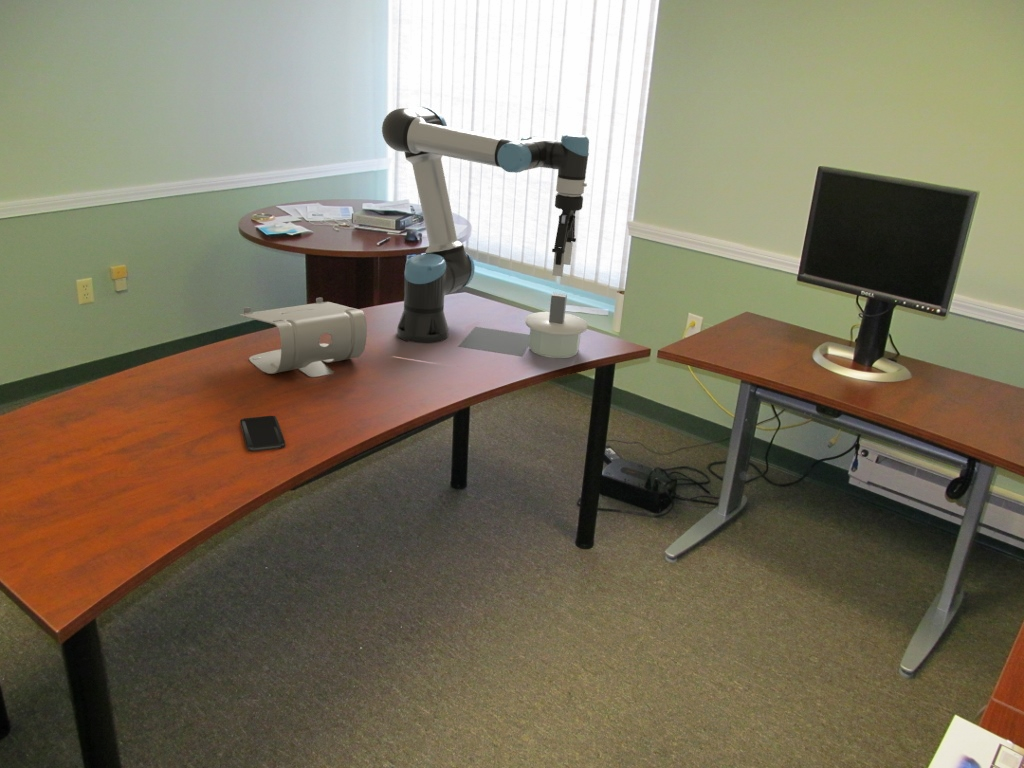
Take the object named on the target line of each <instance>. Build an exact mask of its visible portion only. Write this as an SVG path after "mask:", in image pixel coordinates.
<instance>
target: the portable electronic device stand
mask: <svg viewBox="0 0 1024 768" xmlns="http://www.w3.org/2000/svg"><path fill="white" fill-rule="evenodd" d="M251 309H252V308H251V307H243V309H242V310H243V311H242V312H243V313H239V316H241V317H244V318H248V319H251V320H256V321H259V322H262V323H263V322H264V323H266V324H267V323H268V324H271V325H274V326H276V327H277V329H278V332H279V338H280V349H274V350H270V351H266V352H260V353H257V354H253V355H251V356H250V357H249V358H248V360H249V361H250V363H251V364H252V365H253V366H255V367H256V368H257V369H258V370H260V371H261V372H263V373H265V374H269V375H273V374H277V373H283V372H287V371H293V370H298V371H299V372H301V373H302V374H304V375H306V376H307V377H308V378H311V379H312V378H313V379H314V378H321V377H325V376H330V375H334V373H335V371H334V370H333V369H332V368H330V367H329V366H328V365H326V364H325V363H327V364H328V363H329V364H330V363H335V362H341V361H344V360H350V359H355V358H360V357H361V356H362V355H363V353H364V351H365V349H366V345H367V336H368V335H367V334H368V333H367V332H368V331H367V327H368V326H367V319H366V315H365V313H364V311H363V310H361V309H358V308H354V307H349V306H347V305H343V304H339V303H334V302H331V301H324V299H323V296H322V297H316V298H315V302H314V303H307V304H299V305H294V306H287V307H280V308H271V309H266V310H259V311H252V310H251ZM326 334H327V335H330V338H331V341H330V343H324V342H323V343H320V339H321V336H323V335H326Z"/></svg>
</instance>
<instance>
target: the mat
mask: <svg viewBox="0 0 1024 768" xmlns="http://www.w3.org/2000/svg"><path fill="white" fill-rule="evenodd" d="M529 338H530V334H526V333H519V332H513V331H506V330H501V329H496V328H495V329H494V328H487V327H482V326H475V327H473V328H472V330H471V331H470V332H468V334H467V336H466V337H464V338H463V340H462V341H461V342H460V343H459V344H458V345H457V347H460V348H465V349H471V350H472V349H473V350H479V351H485V352H492V353H499V354H504V355H505V354H506V355H512V356H516V357H517V356H518V357H523V355H524V354H525V352H526V351H527V350H528V348H529Z"/></svg>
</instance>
